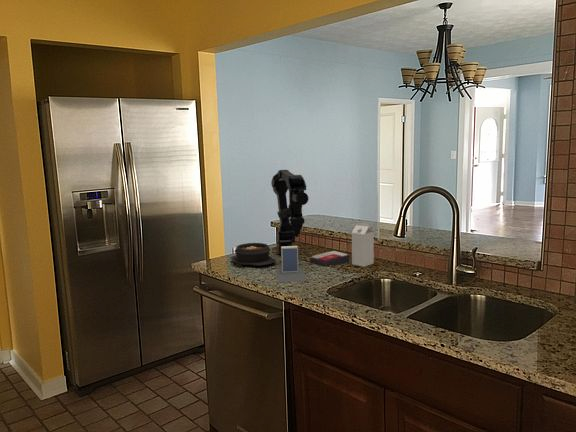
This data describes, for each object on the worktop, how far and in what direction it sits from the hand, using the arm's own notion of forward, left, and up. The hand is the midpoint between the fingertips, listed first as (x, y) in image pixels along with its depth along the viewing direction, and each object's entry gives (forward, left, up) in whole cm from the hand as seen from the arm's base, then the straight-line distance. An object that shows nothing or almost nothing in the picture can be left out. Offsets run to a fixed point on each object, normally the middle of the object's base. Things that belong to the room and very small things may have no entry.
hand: (296, 235), depth 223 cm
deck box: (+8, -14, -13) cm, 20 cm away
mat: (+12, -18, -13) cm, 25 cm away
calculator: (+12, +10, -14) cm, 21 cm away
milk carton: (+26, +16, -13) cm, 33 cm away
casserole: (-17, -12, -13) cm, 25 cm away
